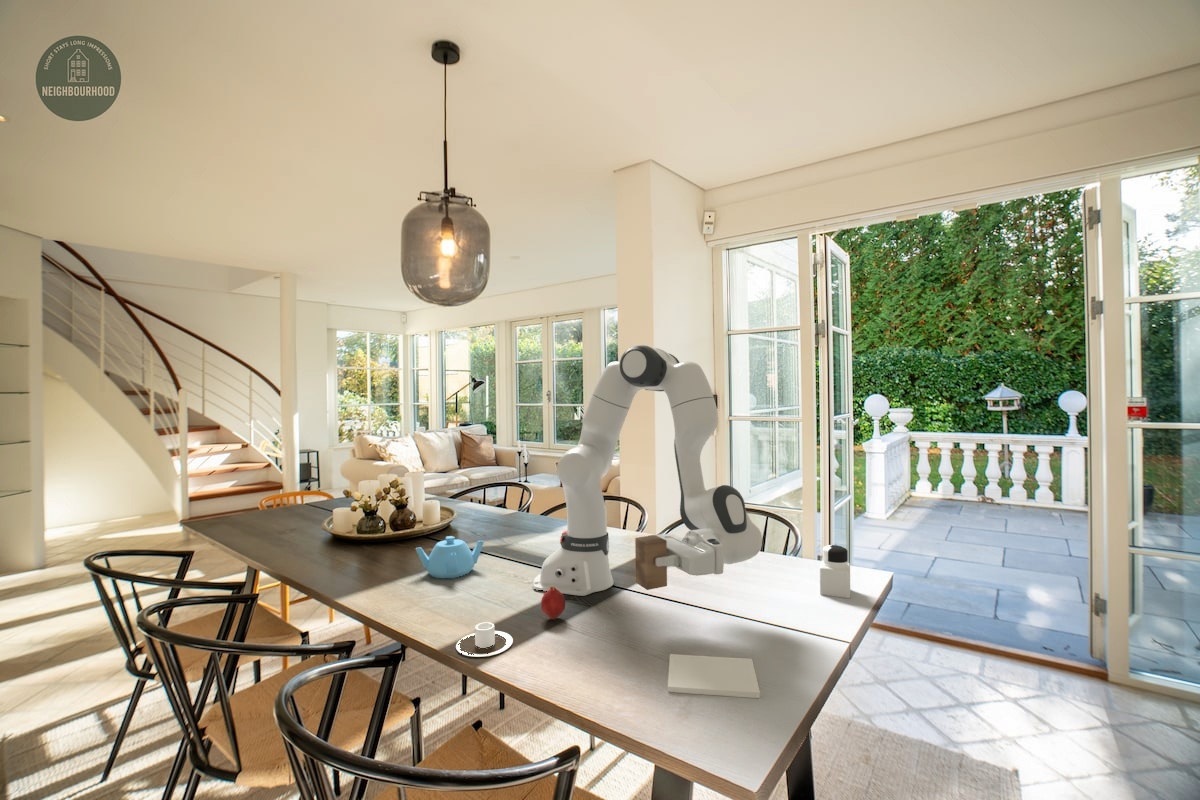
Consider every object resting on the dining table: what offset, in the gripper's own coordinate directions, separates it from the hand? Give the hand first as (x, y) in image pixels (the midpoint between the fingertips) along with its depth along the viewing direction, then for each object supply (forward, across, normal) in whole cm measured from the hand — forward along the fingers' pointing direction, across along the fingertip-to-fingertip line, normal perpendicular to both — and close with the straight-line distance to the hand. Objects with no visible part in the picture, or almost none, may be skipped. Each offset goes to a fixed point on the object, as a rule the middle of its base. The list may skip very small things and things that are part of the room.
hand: (647, 557), depth 119 cm
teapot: (+32, -64, +18) cm, 74 cm away
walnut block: (-1, 0, +6) cm, 6 cm away
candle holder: (+33, -13, +18) cm, 40 cm away
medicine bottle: (-57, 0, +17) cm, 59 cm away
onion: (+15, -18, +18) cm, 30 cm away
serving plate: (-2, +20, +17) cm, 27 cm away
